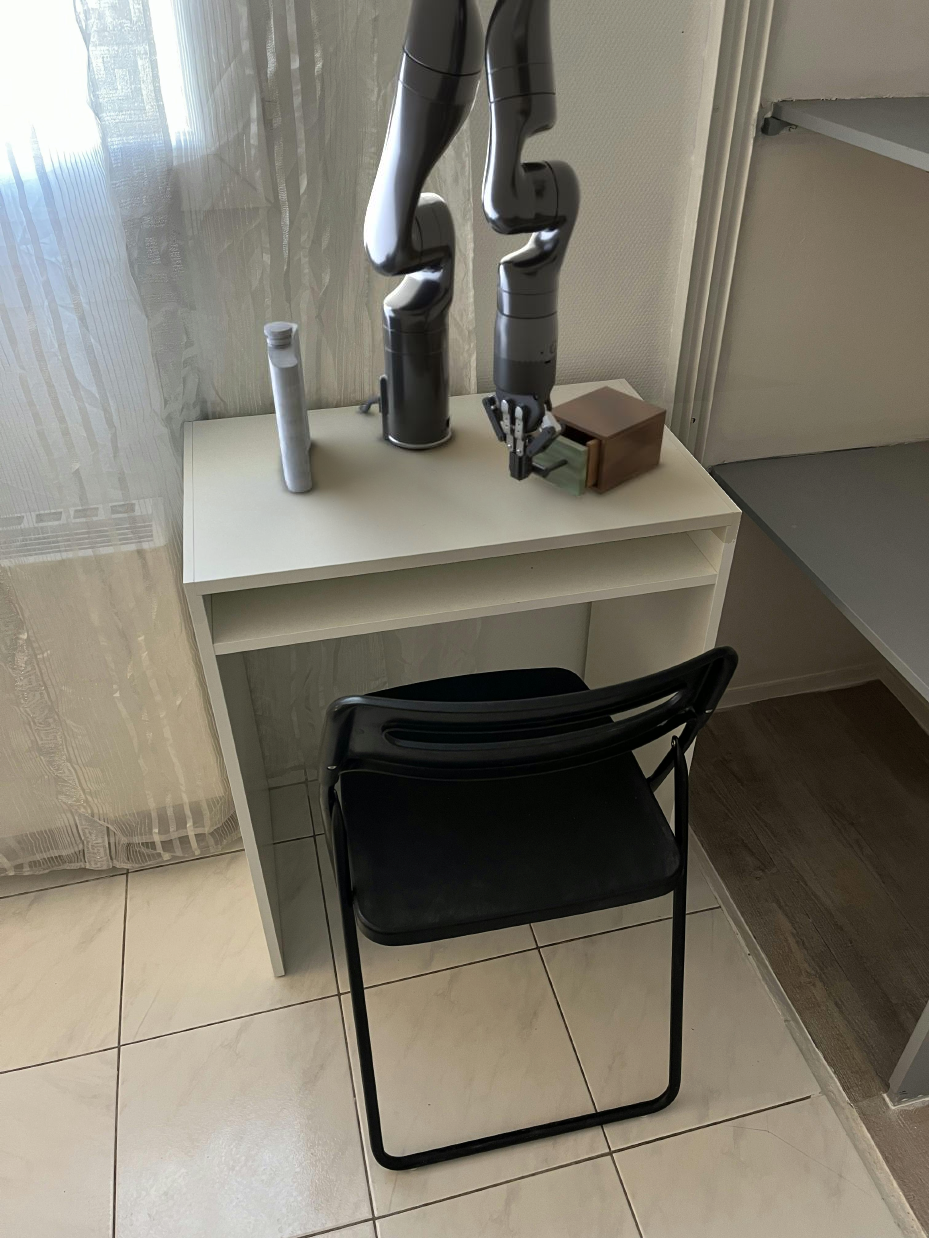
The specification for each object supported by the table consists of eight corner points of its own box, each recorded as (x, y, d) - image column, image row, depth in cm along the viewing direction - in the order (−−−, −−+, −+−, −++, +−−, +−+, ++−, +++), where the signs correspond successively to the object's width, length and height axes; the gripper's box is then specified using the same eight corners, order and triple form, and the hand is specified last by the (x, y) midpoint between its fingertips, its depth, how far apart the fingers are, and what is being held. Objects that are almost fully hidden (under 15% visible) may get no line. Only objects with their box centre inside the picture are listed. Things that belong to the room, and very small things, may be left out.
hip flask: (312, 491, 126) (295, 347, 114) (281, 493, 125) (261, 348, 113) (310, 439, 138) (295, 303, 126) (283, 440, 138) (265, 305, 126)
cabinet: (600, 494, 125) (606, 437, 120) (542, 466, 131) (545, 410, 126) (659, 465, 132) (666, 409, 126) (600, 439, 138) (605, 385, 133)
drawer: (552, 509, 120) (555, 463, 116) (500, 482, 126) (501, 437, 122) (634, 469, 129) (639, 424, 125) (582, 445, 135) (585, 402, 131)
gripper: (464, 339, 112) (464, 468, 123) (542, 371, 104) (535, 506, 115) (510, 324, 116) (506, 450, 127) (588, 354, 108) (577, 486, 119)
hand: (520, 477), depth 121 cm, fingers closed
